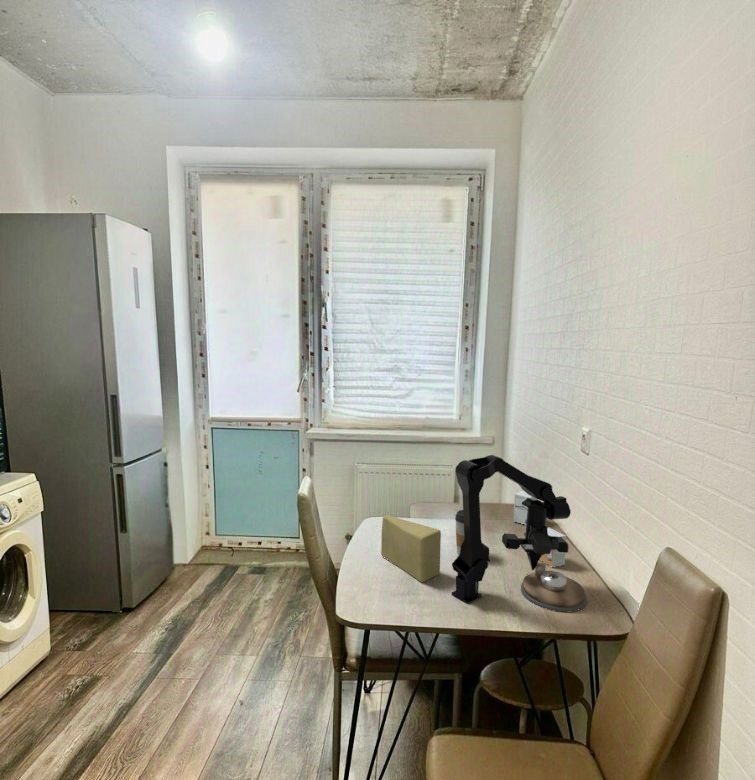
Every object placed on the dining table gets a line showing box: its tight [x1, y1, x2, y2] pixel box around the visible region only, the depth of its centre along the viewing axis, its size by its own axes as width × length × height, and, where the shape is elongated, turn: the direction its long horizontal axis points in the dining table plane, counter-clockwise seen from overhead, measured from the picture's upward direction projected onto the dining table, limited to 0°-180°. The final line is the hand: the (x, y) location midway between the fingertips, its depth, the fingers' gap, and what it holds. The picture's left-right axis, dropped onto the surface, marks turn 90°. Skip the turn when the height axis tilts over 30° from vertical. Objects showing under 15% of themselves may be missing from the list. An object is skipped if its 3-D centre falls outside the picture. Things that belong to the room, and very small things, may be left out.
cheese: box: [380, 514, 442, 583], centre depth 147 cm, size 22×10×15 cm, turn 44°
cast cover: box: [541, 570, 567, 592], centre depth 131 cm, size 7×7×3 cm
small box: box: [539, 527, 567, 568], centre depth 152 cm, size 8×6×10 cm
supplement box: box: [512, 490, 539, 526], centre depth 188 cm, size 7×7×13 cm
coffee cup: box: [454, 509, 464, 556], centre depth 156 cm, size 8×8×15 cm
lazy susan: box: [522, 561, 586, 607], centre depth 131 cm, size 17×17×5 cm
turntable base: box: [520, 581, 587, 613], centre depth 132 cm, size 18×19×1 cm
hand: (532, 569), depth 137 cm, fingers closed
